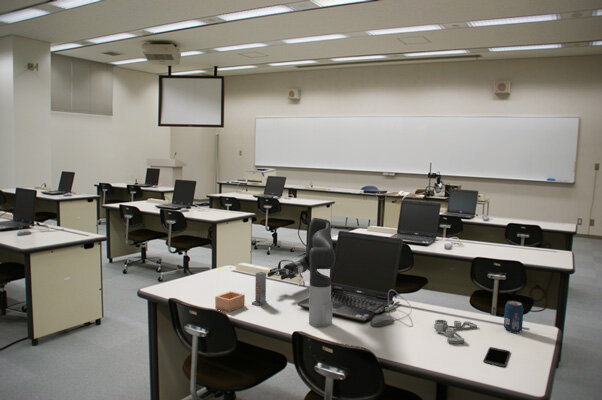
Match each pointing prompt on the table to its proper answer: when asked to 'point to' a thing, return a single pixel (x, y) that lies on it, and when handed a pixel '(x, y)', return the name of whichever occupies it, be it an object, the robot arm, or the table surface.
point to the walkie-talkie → (390, 307)
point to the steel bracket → (260, 289)
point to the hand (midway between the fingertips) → (274, 276)
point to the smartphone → (497, 357)
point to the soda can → (513, 316)
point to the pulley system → (443, 327)
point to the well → (229, 301)
